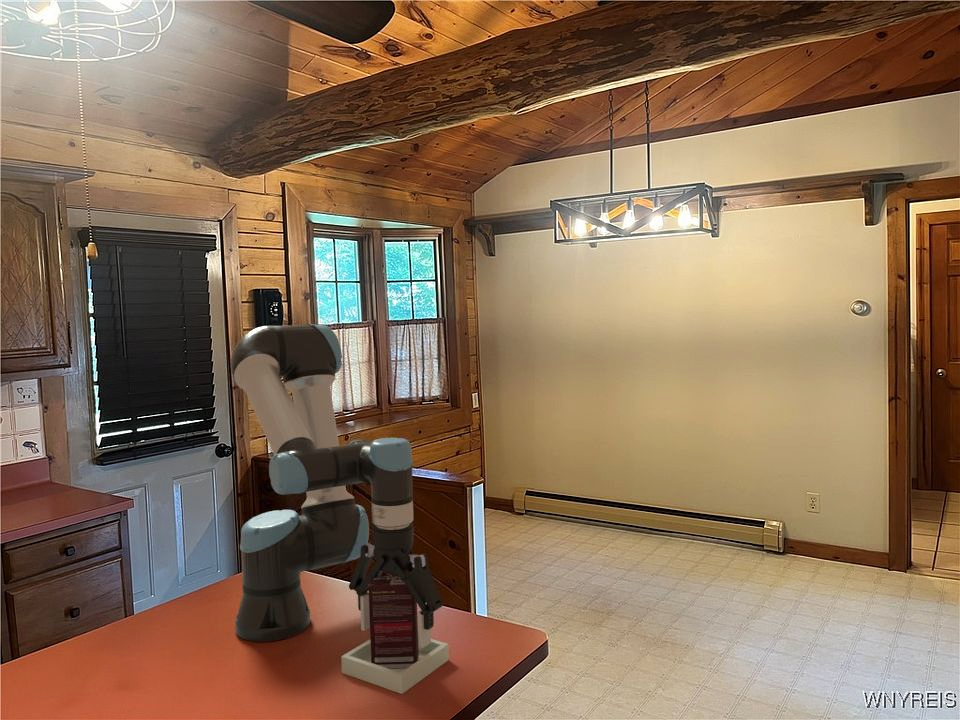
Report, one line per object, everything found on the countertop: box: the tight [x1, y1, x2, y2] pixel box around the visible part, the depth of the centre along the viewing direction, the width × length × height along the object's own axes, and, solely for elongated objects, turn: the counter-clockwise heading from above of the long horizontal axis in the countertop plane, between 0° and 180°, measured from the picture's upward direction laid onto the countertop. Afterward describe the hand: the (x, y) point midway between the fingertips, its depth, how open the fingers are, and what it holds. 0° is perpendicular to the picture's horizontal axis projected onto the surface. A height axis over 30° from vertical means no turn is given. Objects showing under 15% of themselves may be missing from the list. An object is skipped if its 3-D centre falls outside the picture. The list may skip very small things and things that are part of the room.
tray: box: [340, 638, 450, 695], centre depth 134 cm, size 14×14×3 cm
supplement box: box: [368, 575, 419, 668], centre depth 134 cm, size 9×5×16 cm, turn 91°
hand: (395, 636), depth 134 cm, fingers open, 13 cm apart
